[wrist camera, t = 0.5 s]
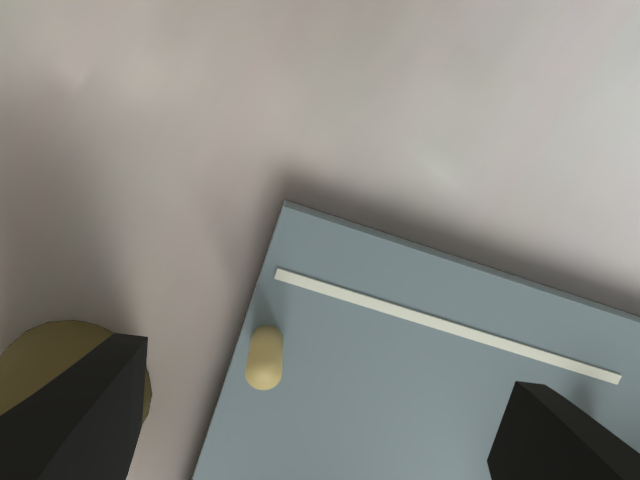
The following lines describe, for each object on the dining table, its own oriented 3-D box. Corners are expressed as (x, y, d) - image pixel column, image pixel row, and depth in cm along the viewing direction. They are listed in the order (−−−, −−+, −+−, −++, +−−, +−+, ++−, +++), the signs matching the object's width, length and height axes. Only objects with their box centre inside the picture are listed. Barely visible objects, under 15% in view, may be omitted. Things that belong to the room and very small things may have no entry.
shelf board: (649, 621, 26) (705, 704, 22) (182, 504, 23) (162, 579, 20) (804, 370, 23) (899, 422, 19) (284, 199, 20) (281, 222, 16)
